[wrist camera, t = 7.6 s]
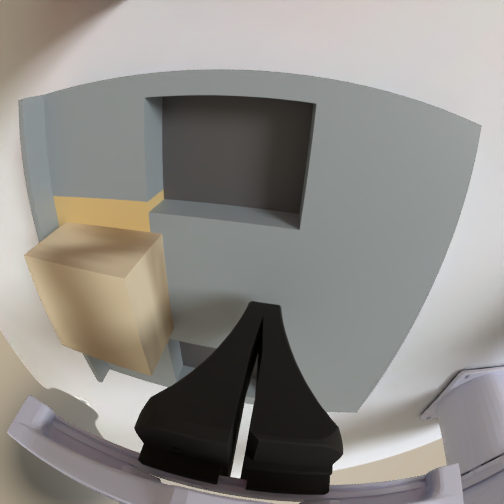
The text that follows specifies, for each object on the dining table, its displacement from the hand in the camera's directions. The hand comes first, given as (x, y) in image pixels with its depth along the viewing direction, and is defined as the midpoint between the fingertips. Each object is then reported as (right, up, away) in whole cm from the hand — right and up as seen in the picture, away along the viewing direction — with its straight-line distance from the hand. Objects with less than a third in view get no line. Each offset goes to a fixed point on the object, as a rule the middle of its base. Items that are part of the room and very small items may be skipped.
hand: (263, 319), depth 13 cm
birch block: (-8, +2, +2) cm, 8 cm away
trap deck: (-2, +2, +3) cm, 4 cm away
